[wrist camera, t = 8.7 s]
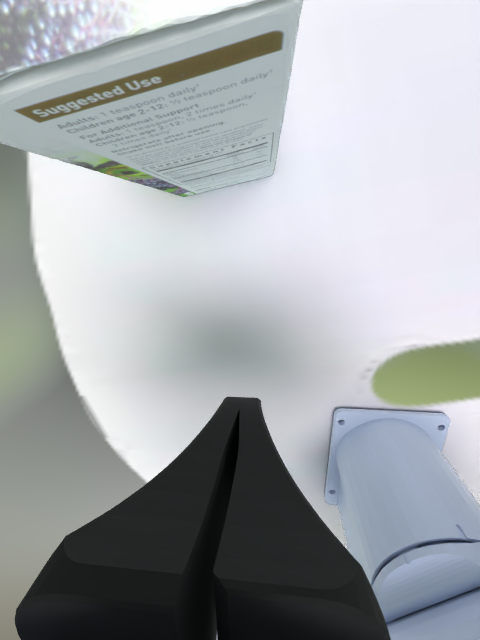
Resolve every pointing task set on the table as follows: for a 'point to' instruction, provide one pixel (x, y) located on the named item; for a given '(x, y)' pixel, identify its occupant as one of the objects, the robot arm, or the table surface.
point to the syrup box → (149, 86)
